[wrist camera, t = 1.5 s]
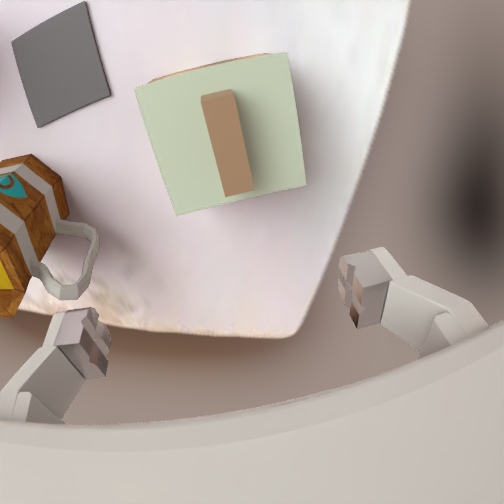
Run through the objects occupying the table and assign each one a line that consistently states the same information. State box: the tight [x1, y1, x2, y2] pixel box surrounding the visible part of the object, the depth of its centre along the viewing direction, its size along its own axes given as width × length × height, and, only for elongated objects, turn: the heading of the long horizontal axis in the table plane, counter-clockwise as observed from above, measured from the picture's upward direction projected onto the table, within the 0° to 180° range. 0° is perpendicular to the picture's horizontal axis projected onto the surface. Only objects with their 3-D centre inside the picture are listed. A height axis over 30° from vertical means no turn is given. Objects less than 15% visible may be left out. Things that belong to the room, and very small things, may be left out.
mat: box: [11, 1, 111, 128], centre depth 25 cm, size 10×12×1 cm
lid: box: [134, 53, 307, 216], centre depth 25 cm, size 12×12×6 cm
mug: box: [0, 154, 100, 318], centre depth 29 cm, size 20×14×15 cm
